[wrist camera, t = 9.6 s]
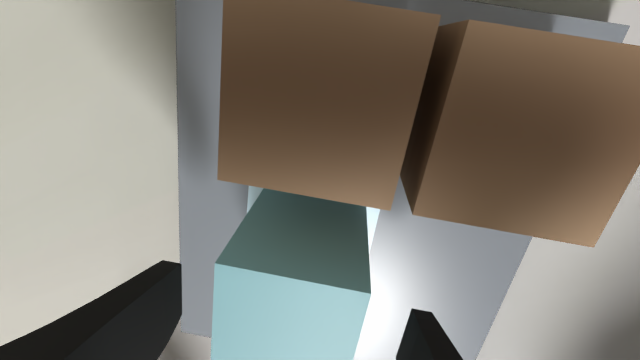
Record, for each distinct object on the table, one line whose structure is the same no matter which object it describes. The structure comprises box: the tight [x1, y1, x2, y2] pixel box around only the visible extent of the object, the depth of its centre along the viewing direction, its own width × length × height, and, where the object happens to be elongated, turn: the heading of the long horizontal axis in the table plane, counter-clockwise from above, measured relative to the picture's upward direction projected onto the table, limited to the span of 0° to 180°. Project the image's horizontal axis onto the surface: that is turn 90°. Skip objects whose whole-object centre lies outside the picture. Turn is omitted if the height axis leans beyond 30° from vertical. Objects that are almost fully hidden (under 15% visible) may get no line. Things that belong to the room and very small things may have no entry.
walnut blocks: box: [217, 0, 640, 247], centre depth 9 cm, size 4×8×5 cm, turn 82°
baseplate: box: [175, 0, 630, 360], centre depth 14 cm, size 16×14×1 cm
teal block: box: [211, 188, 371, 360], centre depth 11 cm, size 4×4×5 cm
